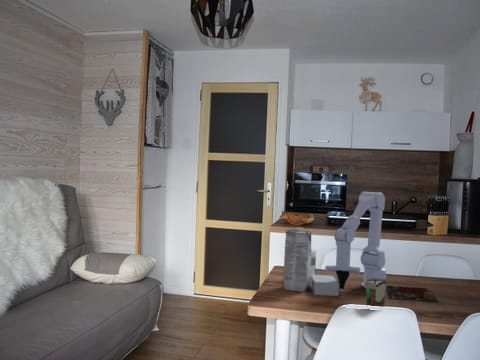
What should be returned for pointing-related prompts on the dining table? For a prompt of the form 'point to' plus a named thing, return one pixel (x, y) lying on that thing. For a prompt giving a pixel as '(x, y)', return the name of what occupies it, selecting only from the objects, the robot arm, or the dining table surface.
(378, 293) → the food container
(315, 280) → the block
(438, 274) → the dining table surface
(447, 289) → the dining table surface
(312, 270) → the syrup box
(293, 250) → the juice carton
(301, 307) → the dining table surface
